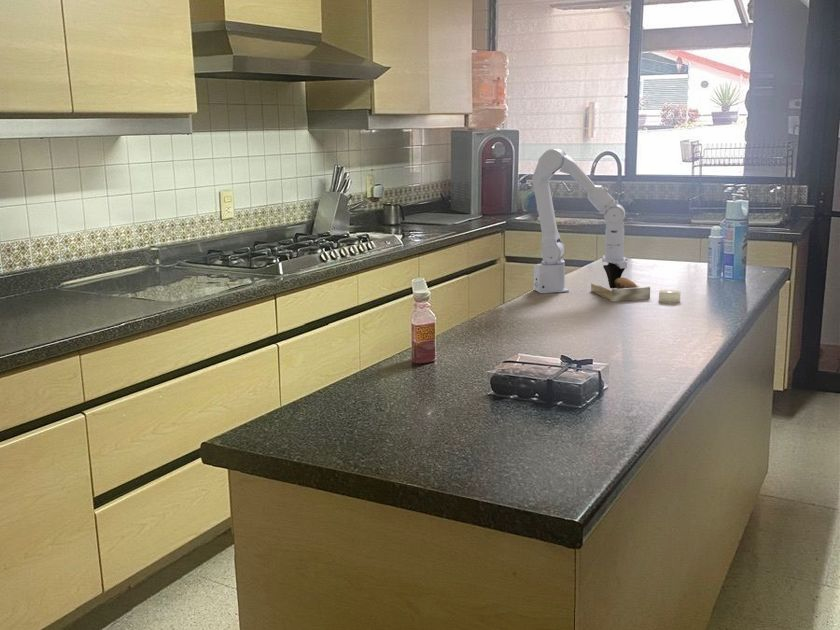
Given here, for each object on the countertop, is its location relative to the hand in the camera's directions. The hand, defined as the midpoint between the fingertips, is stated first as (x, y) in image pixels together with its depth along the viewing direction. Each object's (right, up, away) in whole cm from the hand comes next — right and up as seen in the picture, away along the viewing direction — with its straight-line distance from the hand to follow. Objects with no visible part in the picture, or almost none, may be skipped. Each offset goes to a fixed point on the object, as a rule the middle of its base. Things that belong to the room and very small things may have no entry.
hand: (613, 288), depth 264 cm
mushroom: (+2, -3, -7) cm, 8 cm away
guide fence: (+1, -2, -3) cm, 4 cm away
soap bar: (+13, -4, -15) cm, 20 cm away
